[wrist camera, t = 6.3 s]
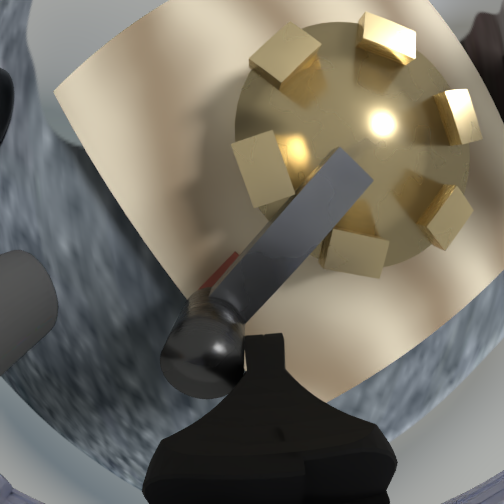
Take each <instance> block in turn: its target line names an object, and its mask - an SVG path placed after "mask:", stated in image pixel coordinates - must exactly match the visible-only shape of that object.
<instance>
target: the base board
mask: <svg viewBox="0 0 504 504" xmlns="http://www.w3.org/2000/svg"><path fill="white" fill-rule="evenodd" d="M365 11H366V12H369V13H371V14H374V15H377V16H379V17H382V18H384V19H387V20H389V21H392V22H394V23H397V24H399V25H401V26H404V27H406V28H408V29H410V30H412V31H415V32H416V49H417V50H418V51H419V52H420V53H422V54H423V55H424V56H425V57H426V58H427V59H428V60H429V61H430V62H431V63H432V64H433V65H434V66H435V67H436V69H437V70H438V71H439V72H440V74H441V75H442V76H443V77H444V79H445V80H446V82H447V83H448V85H449V87H450V88H451V90H459V89H467V91H468V93H469V96H470V99H471V102H472V105H473V108H474V111H475V114H476V117H477V120H478V124H479V127H480V130H481V134H482V138H483V139H482V140H478V141H474V142H470V143H469V153H470V163H469V175H468V180H467V185H466V189H465V193H464V196H465V198H466V199H467V201H468V202H469V204H470V205H471V207H472V209H473V210H474V211H473V212H472V214H471V215H470V217H469V218H468V220H467V221H466V223H465V224H464V226H463V227H462V229H461V230H460V231H459V233H458V234H457V236H456V237H455V238H454V240H453V241H452V243H451V244H450V245H449V247H448V248H447V249H446V251H444V250H442V249H439V248H437V247H435V246H433V245H432V244H431V245H430V246H429V247H428V248H426V249H425V250H424V251H422V252H421V253H419V254H418V255H416V256H414V257H412V258H410V259H408V260H406V261H404V262H401V263H398V264H395V265H392V266H387V267H383V269H382V272H381V276H380V279H377V278H371V277H366V276H360V275H354V274H348V273H343V272H337V271H331V270H326V269H323V268H322V267H321V265H320V264H319V263H318V260H319V259H318V258H315V257H313V256H311V255H309V256H308V257H307V258H306V259H305V260H304V261H303V262H302V264H301V265H300V266H299V267H298V268H297V269H296V270H295V271H294V272H293V273H292V275H291V276H290V277H289V278H288V279H287V280H286V281H285V282H284V283H283V284H282V285H281V287H280V288H279V289H278V290H277V291H276V292H275V293H274V294H273V295H272V296H271V297H270V298H269V299H268V300H267V302H266V303H265V304H264V305H263V306H262V307H261V308H260V309H259V310H258V311H257V312H256V313H255V314H254V315H253V316H252V317H251V318H250V319H249V321H248V322H247V323H246V324H245V336H246V335H260V334H263V335H265V334H272V333H282V334H283V337H284V343H285V367H286V370H287V371H288V372H289V373H290V374H291V375H292V377H293V378H294V379H295V380H297V381H298V382H299V383H300V384H301V385H302V386H303V387H304V388H306V389H307V390H308V391H309V392H311V393H312V394H313V395H314V396H316V397H317V398H319V399H321V400H322V401H324V402H325V403H326V402H328V401H330V400H332V399H334V398H336V397H337V396H339V395H341V394H343V393H344V392H346V391H348V390H350V389H351V388H353V387H355V386H356V385H358V384H360V383H361V382H363V381H364V380H366V379H368V378H369V377H371V376H372V375H374V374H376V373H377V372H379V371H380V370H382V369H383V368H385V367H386V366H388V365H389V364H391V363H392V362H394V361H395V360H397V359H398V358H400V357H401V356H402V355H404V354H405V353H407V352H408V351H410V350H411V349H412V348H414V347H415V346H416V345H418V344H419V343H420V342H422V341H423V340H424V339H426V338H427V337H428V336H430V335H431V334H432V333H433V332H435V331H436V330H437V329H439V328H440V327H441V326H442V325H444V324H445V323H446V322H447V321H448V320H450V319H451V318H452V317H453V316H454V315H456V314H457V313H458V312H459V311H460V310H461V309H463V308H464V307H465V306H466V305H467V304H468V303H469V302H470V301H472V300H473V299H474V298H475V297H476V296H477V295H478V294H479V293H480V292H481V291H482V290H483V289H485V288H486V287H487V286H488V285H489V284H490V283H491V282H492V281H493V280H494V279H495V278H496V277H497V276H498V275H499V274H500V273H501V272H502V271H503V270H504V124H503V121H502V119H501V117H500V114H499V112H498V110H497V108H496V106H495V104H494V102H493V100H492V98H491V96H490V94H489V92H488V90H487V88H486V86H485V84H484V82H483V80H482V78H481V77H480V75H479V73H478V71H477V70H476V68H475V66H474V64H473V63H472V61H471V60H470V58H469V56H468V55H467V53H466V51H465V50H464V48H463V47H462V45H461V44H460V42H459V41H458V39H457V38H456V36H455V35H454V34H453V32H452V31H451V29H450V28H449V26H448V25H447V24H446V22H445V21H444V20H443V18H442V17H441V16H440V14H439V13H438V12H437V11H436V9H435V8H434V7H433V6H432V4H431V3H430V2H429V1H428V0H169V1H167V2H166V3H164V4H162V5H161V6H159V7H158V8H156V9H154V10H153V11H151V12H150V13H148V14H146V15H145V16H144V17H142V18H140V19H139V20H138V21H136V22H135V23H133V24H132V25H130V26H129V27H127V28H126V29H125V30H123V31H122V32H121V33H119V34H118V35H117V36H115V37H114V38H113V39H112V40H110V41H109V42H108V43H106V44H105V45H104V46H103V47H102V48H100V49H99V50H98V51H97V52H95V53H94V54H93V55H92V56H91V57H90V58H88V59H87V60H86V61H85V62H84V63H83V64H82V65H80V66H79V67H78V68H77V69H76V70H75V71H74V72H73V73H72V74H71V75H69V76H68V78H66V79H65V80H64V81H63V82H62V83H61V84H60V85H59V87H58V88H56V89H55V90H54V94H55V96H56V98H57V100H58V102H59V104H60V106H61V108H62V109H63V111H64V113H65V115H66V117H67V119H68V120H69V122H70V124H71V126H72V128H73V129H74V131H75V133H76V135H77V136H78V138H79V140H80V142H81V143H82V145H83V147H84V148H85V150H86V152H87V154H88V155H89V157H90V159H91V160H92V162H93V164H94V165H95V167H96V168H97V170H98V172H99V173H100V175H101V177H102V178H103V180H104V181H105V183H106V185H107V186H108V188H109V189H110V191H111V192H112V194H113V195H114V197H115V199H116V200H117V202H118V203H119V205H120V206H121V208H122V209H123V211H124V212H125V214H126V215H127V217H128V218H129V220H130V221H131V223H132V224H133V226H134V227H135V229H136V230H137V231H138V233H139V234H140V236H141V237H142V239H143V240H144V242H145V243H146V244H147V246H148V247H149V249H150V250H151V251H152V253H153V254H154V256H155V257H156V258H157V260H158V261H159V263H160V264H161V265H162V267H163V268H164V269H165V271H166V272H167V273H168V275H169V276H170V278H171V279H172V280H173V282H174V283H175V284H176V286H177V287H178V288H179V290H180V291H181V292H182V293H183V295H184V296H185V297H186V299H187V300H188V298H189V297H190V296H191V295H192V294H193V293H194V292H196V291H198V290H200V289H202V288H206V287H212V286H213V285H214V284H215V283H216V282H217V280H218V279H219V278H220V277H221V276H222V275H223V274H224V272H225V271H226V270H227V269H228V268H229V267H230V265H231V264H232V263H233V262H234V261H235V260H236V259H237V257H238V256H239V255H240V254H241V253H242V252H243V250H244V249H245V248H246V247H247V246H248V245H249V244H250V242H251V241H252V240H253V239H254V238H255V237H256V236H257V234H258V233H259V232H260V231H261V230H262V229H263V227H264V226H265V225H266V224H267V223H268V222H269V221H268V220H267V218H266V217H265V216H264V214H263V213H262V212H261V211H260V209H259V208H258V207H257V208H254V207H253V205H252V202H251V199H250V196H249V193H248V191H247V188H246V185H245V182H244V179H243V177H242V174H241V171H240V168H239V166H238V163H237V160H236V157H235V155H234V152H233V149H232V146H231V144H232V143H235V117H236V110H237V104H238V100H239V97H240V93H241V90H242V87H243V85H244V83H245V81H246V79H247V77H248V74H249V73H250V71H251V69H250V68H249V58H250V57H251V56H252V55H253V54H254V53H255V52H256V51H257V50H258V49H259V48H260V47H261V46H262V45H263V44H265V43H266V42H267V41H268V40H269V39H270V38H271V37H272V36H273V35H275V34H276V33H277V32H278V31H279V30H280V29H281V28H283V27H284V26H285V25H286V24H287V23H288V22H290V21H291V22H292V23H294V24H295V25H297V26H298V27H299V28H301V29H302V28H305V27H307V26H311V25H316V24H320V23H327V22H353V23H358V21H359V19H360V18H361V17H362V15H363V14H364V12H365ZM244 369H245V371H247V366H246V358H245V350H244Z"/></svg>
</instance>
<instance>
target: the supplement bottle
mask: <svg viewBox="0 0 504 504" xmlns="http://www.w3.org/2000/svg"><path fill="white" fill-rule="evenodd" d="M13 104H14V86H13V82H12V79H11V77H10V75H9V73H8V72H7V71H5V70H4V69H2V68H0V142H1V140H2V138H3V136H4V134H5V132H6V130H7V127H8V124H9V121H10V118H11V114H12V110H13Z"/></svg>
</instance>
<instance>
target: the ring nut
mask: <svg viewBox="0 0 504 504" xmlns="http://www.w3.org/2000/svg"><path fill="white" fill-rule="evenodd" d="M249 68H250V69H251V71H250V73H249V74H248V77H247V79H246V81H245V83H244V85H243V87H242V90H241V93H240V97H239V100H238V104H237V110H236V117H235V143H232V144H231V146H232V149H233V152H234V155H235V157H236V160H237V163H238V166H239V168H240V171H241V174H242V177H243V179H244V182H245V185H246V188H247V191H248V193H249V196H250V199H251V202H252V205H253V207H254V208H257V207H258V208H259V209H260V211H261V212H262V213H263V214H264V216H265V217H266V218H267V220H268V221H269V222H268V223H267V224H266V225H265V226H264V227H263V229H262V230H261V231H260V232H259V233H258V234H257V236H256V237H255V238H254V239H253V240H252V241H251V242H250V244H249V245H248V246H247V247H246V248H245V249H244V250H243V252H242V253H241V254H240V255H239V256H238V257H237V259H236V260H235V261H234V262H233V263H232V264H231V265H230V267H229V268H228V269H227V270H226V271H225V272H224V274H223V275H222V276H221V277H220V278H219V279H218V280H217V282H216V283H215V284H214V285H213V286H212V287H206V288H202V289H200V290H198V291H196V292H194V293H193V294H192V295H191V296H190V297H189V298H188V300H187V301H186V303H185V305H184V307H183V309H182V311H181V313H180V315H179V317H178V319H177V321H176V323H175V325H174V327H173V329H172V331H171V333H170V335H169V337H168V339H167V341H166V343H165V345H164V348H163V350H162V352H161V356H160V365H161V369H162V372H163V374H164V376H165V378H166V379H167V380H168V382H169V383H170V384H171V385H172V386H173V387H174V388H176V389H177V390H179V391H180V392H182V393H184V394H186V395H188V396H191V397H195V398H200V399H214V398H219V397H222V396H225V395H227V394H229V393H230V392H231V391H232V390H233V388H234V387H235V386H236V385H237V384H238V382H239V381H240V380H241V378H242V377H243V374H244V350H245V349H244V343H245V324H246V323H247V322H248V321H249V319H250V318H251V317H252V316H253V315H254V314H255V313H256V312H257V311H258V310H259V309H260V308H261V307H262V306H263V305H264V304H265V303H266V302H267V300H268V299H269V298H270V297H271V296H272V295H273V294H274V293H275V292H276V291H277V290H278V289H279V288H280V287H281V285H282V284H283V283H284V282H285V281H286V280H287V279H288V278H289V277H290V276H291V275H292V273H293V272H294V271H295V270H296V269H297V268H298V267H299V266H300V265H301V264H302V262H303V261H304V260H305V259H306V258H307V257H308V256H309V255H311V256H313V257H315V258H318V259H319V260H318V263H319V264H320V265H321V267H322V268H323V269H326V270H331V271H337V272H343V273H348V274H354V275H360V276H366V277H371V278H377V279H380V276H381V272H382V269H383V267H387V266H392V265H395V264H398V263H401V262H404V261H406V260H408V259H410V258H412V257H414V256H416V255H418V254H419V253H421V252H422V251H424V250H425V249H426V248H428V247H429V246H430V245H431V244H432V245H433V246H435V247H437V248H439V249H442V250H444V251H446V249H447V248H448V247H449V245H450V244H451V243H452V241H453V240H454V238H455V237H456V236H457V234H458V233H459V231H460V230H461V229H462V227H463V226H464V224H465V223H466V221H467V220H468V218H469V217H470V215H471V214H472V212H473V211H474V210H473V209H472V207H471V205H470V204H469V202H468V201H467V199H466V198H465V196H464V193H465V189H466V185H467V180H468V175H469V163H470V153H469V143H470V142H474V141H478V140H482V139H483V138H482V134H481V130H480V127H479V124H478V120H477V117H476V114H475V111H474V108H473V105H472V102H471V99H470V96H469V93H468V91H467V89H459V90H451V88H450V87H449V85H448V83H447V82H446V80H445V79H444V77H443V76H442V75H441V74H440V72H439V71H438V70H437V69H436V67H435V66H434V65H433V64H432V63H431V62H430V61H429V60H428V59H427V58H426V57H425V56H424V55H423V54H422V53H420V52H419V51H418V50H417V49H416V32H415V31H412V30H410V29H408V28H406V27H404V26H401V25H399V24H397V23H394V22H392V21H389V20H387V19H384V18H382V17H379V16H377V15H374V14H371V13H369V12H366V11H365V12H364V14H363V15H362V17H361V18H360V19H359V21H358V23H353V22H327V23H320V24H316V25H311V26H307V27H305V28H302V29H301V28H299V27H298V26H297V25H295V24H294V23H292V22H291V21H290V22H288V23H287V24H286V25H285V26H284V27H283V28H281V29H280V30H279V31H278V32H277V33H276V34H275V35H273V36H272V37H271V38H270V39H269V40H268V41H267V42H266V43H265V44H263V45H262V46H261V47H260V48H259V49H258V50H257V51H256V52H255V53H254V54H253V55H252V56H251V57H250V58H249Z"/></svg>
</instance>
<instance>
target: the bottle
mask: <svg viewBox="0 0 504 504" xmlns="http://www.w3.org/2000/svg"><path fill="white" fill-rule="evenodd" d="M57 313H58V303H57V296H56V292H55V289H54V286H53V283H52V281H51V279H50V277H49V275H48V273H47V272H46V270H45V269H44V267H43V265H42V264H41V263H40V262H39V261H38V260H37V259H36V258H35V257H34V256H32V255H31V254H29V253H27V252H25V251H22V250H13V251H9V252H7V253H4V254H1V255H0V376H1V375H2V374H3V373H4V372H5V371H7V370H8V369H9V368H10V367H11V366H12V365H13V364H14V363H15V362H16V361H17V360H19V359H20V358H21V357H22V356H23V355H24V354H25V353H26V352H27V351H28V350H29V349H30V348H32V347H33V346H34V345H35V344H36V343H37V342H38V341H39V340H40V339H42V338H43V337H44V336H45V335H46V334H47V333H48V332H49V331H50V330H51V329H52V327H53V326H54V324H55V322H56V319H57Z"/></svg>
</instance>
